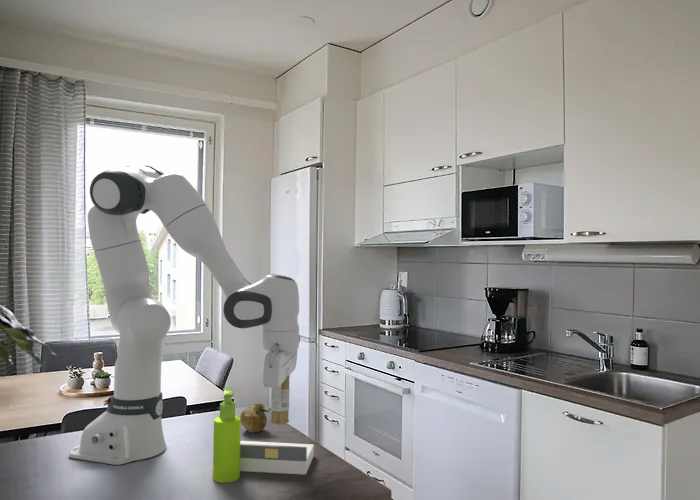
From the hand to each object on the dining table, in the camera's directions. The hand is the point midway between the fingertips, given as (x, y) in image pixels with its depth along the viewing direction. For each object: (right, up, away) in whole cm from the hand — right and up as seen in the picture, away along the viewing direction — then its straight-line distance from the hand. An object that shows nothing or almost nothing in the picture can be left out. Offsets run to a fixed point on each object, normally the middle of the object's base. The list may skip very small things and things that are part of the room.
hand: (280, 397), depth 129 cm
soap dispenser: (-11, -15, -11) cm, 22 cm away
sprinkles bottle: (0, -6, 0) cm, 6 cm away
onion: (-10, -16, +21) cm, 28 cm away
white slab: (-2, -15, -2) cm, 16 cm away
